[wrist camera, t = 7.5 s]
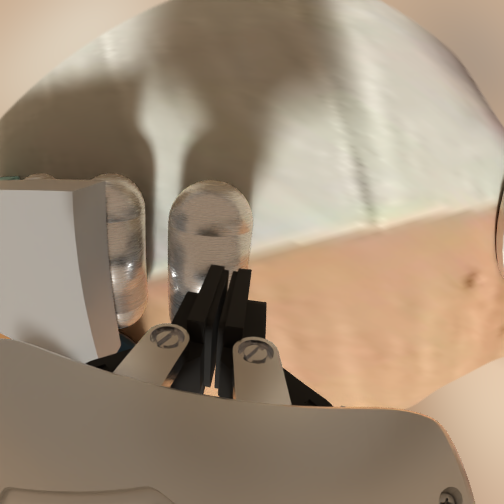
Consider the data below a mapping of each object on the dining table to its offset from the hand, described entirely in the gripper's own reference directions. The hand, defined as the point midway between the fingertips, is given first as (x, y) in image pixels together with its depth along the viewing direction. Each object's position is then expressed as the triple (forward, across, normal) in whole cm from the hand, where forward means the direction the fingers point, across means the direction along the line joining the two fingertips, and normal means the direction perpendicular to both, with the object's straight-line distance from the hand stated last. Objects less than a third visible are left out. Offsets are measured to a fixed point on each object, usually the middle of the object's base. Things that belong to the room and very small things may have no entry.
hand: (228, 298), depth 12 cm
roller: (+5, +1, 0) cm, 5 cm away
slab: (0, +11, 0) cm, 11 cm away
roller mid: (+5, +7, 0) cm, 8 cm away
